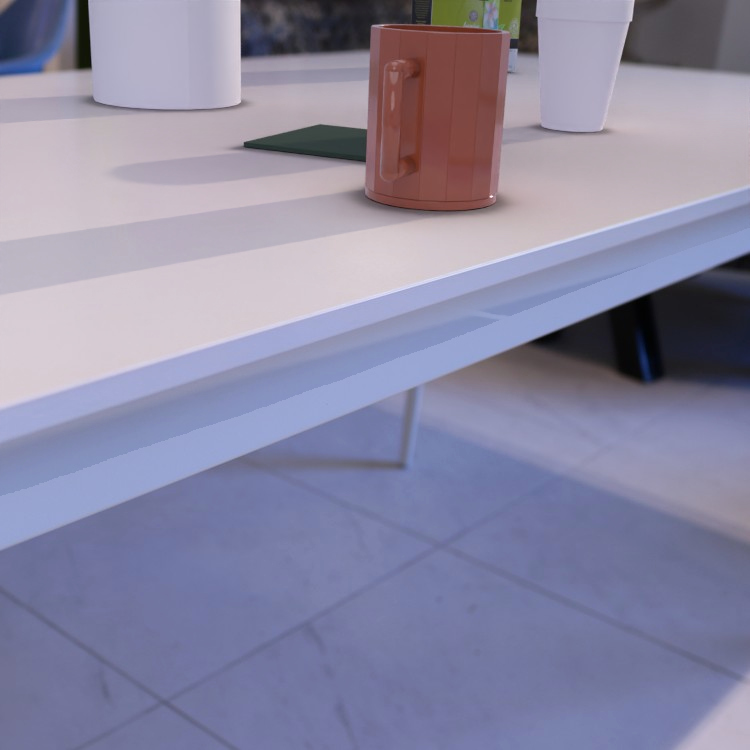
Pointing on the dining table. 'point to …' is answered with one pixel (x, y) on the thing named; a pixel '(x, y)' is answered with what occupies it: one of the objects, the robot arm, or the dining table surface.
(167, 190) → the dining table surface
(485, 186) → the faceted clay mug
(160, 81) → the canister
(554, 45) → the foam cup
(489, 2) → the tea box
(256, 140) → the mat
